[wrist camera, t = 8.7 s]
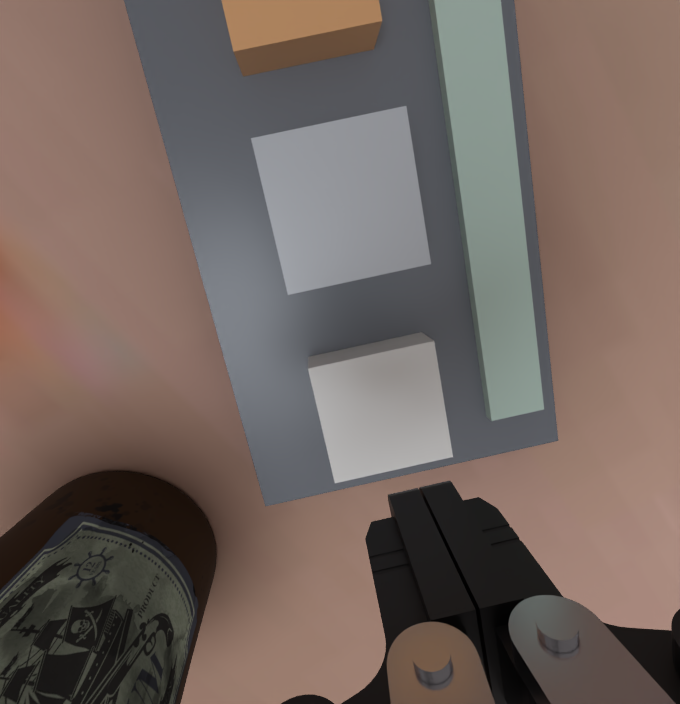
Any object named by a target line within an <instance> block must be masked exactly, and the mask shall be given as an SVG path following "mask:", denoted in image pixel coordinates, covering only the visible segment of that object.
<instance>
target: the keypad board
mask: <svg viewBox="0 0 680 704" xmlns="http://www.w3.org/2000/svg"><path fill="white" fill-rule="evenodd" d="M124 2H125V6H126V9H127V13H128V16H129V20H130V24H131V27H132V31H133V34H134V38H135V41H136V45H137V49H138V52H139V56H140V59H141V63H142V66H143V70H144V74H145V77H146V81H147V84H148V88H149V92H150V95H151V99H152V102H153V106H154V109H155V113H156V117H157V120H158V124H159V127H160V131H161V134H162V138H163V142H164V145H165V149H166V152H167V156H168V159H169V163H170V167H171V170H172V174H173V177H174V181H175V184H176V188H177V192H178V195H179V199H180V202H181V206H182V209H183V213H184V217H185V220H186V224H187V227H188V231H189V235H190V238H191V242H192V245H193V249H194V252H195V256H196V260H197V263H198V267H199V270H200V274H201V277H202V281H203V285H204V288H205V292H206V295H207V299H208V302H209V306H210V310H211V313H212V317H213V320H214V324H215V327H216V331H217V335H218V338H219V342H220V345H221V349H222V352H223V356H224V360H225V363H226V367H227V370H228V374H229V378H230V381H231V385H232V388H233V392H234V395H235V399H236V403H237V406H238V410H239V413H240V417H241V420H242V424H243V428H244V431H245V435H246V438H247V442H248V445H249V449H250V453H251V456H252V460H253V463H254V467H255V470H256V474H257V478H258V481H259V485H260V488H261V492H262V495H263V499H264V503H265V506H269V505H274V504H278V503H282V502H287V501H291V500H296V499H300V498H305V497H309V496H314V495H318V494H323V493H327V492H331V491H336V490H340V489H345V488H349V487H354V486H358V485H363V484H367V483H372V482H376V481H381V480H385V479H389V478H394V477H398V476H403V475H407V474H412V473H416V472H421V471H425V470H430V469H434V468H439V467H443V466H447V465H452V464H456V463H461V462H465V461H470V460H474V459H479V458H483V457H488V456H492V455H496V454H501V453H505V452H510V451H514V450H519V449H523V448H528V447H532V446H537V445H541V444H546V443H550V442H554V441H558V434H557V424H556V414H555V404H554V394H553V384H552V374H551V364H550V354H549V344H548V334H547V324H546V314H545V304H544V294H543V284H542V274H541V264H540V254H539V244H538V234H537V224H536V214H535V204H534V194H533V184H532V174H531V164H530V154H529V144H528V134H527V124H526V114H525V104H524V94H523V84H522V74H521V64H520V54H519V44H518V34H517V24H516V14H515V4H514V0H379V4H380V10H381V16H382V24H381V27H380V30H379V34H378V37H377V40H376V44H375V47H374V50H369V51H364V52H359V53H354V54H350V55H345V56H340V57H335V58H330V59H325V60H321V61H316V62H311V63H306V64H301V65H296V66H292V67H287V68H282V69H277V70H272V71H268V72H263V73H258V74H253V75H248V76H243V75H242V73H241V70H240V67H239V65H238V62H237V60H236V57H235V54H234V52H233V48H232V43H231V39H230V35H229V31H228V26H227V22H226V18H225V14H224V9H223V5H222V1H221V0H124ZM403 106H406V107H407V114H408V120H409V126H410V133H411V139H412V145H413V152H414V158H415V164H416V171H417V177H418V184H419V190H420V196H421V203H422V209H423V215H424V222H425V228H426V234H427V241H428V247H429V254H430V260H431V264H429V265H424V266H420V267H415V268H410V269H406V270H401V271H397V272H392V273H387V274H383V275H378V276H373V277H369V278H364V279H360V280H355V281H350V282H346V283H341V284H336V285H332V286H327V287H323V288H318V289H313V290H309V291H304V292H299V293H295V294H290V295H288V293H287V289H286V285H285V280H284V276H283V272H282V268H281V264H280V259H279V255H278V251H277V247H276V242H275V238H274V234H273V230H272V225H271V221H270V217H269V213H268V208H267V204H266V200H265V196H264V192H263V187H262V183H261V179H260V175H259V170H258V166H257V162H256V158H255V153H254V149H253V145H252V141H251V138H255V137H260V136H264V135H269V134H274V133H279V132H283V131H288V130H293V129H298V128H303V127H307V126H312V125H317V124H322V123H326V122H331V121H336V120H341V119H345V118H350V117H355V116H360V115H364V114H369V113H374V112H379V111H383V110H388V109H393V108H398V107H403ZM420 332H422V333H423V334H425V335H426V336H428V337H429V338H431V339H432V340H434V342H435V349H436V355H437V361H438V367H439V373H440V379H441V386H442V392H443V398H444V404H445V410H446V416H447V423H448V429H449V435H450V441H451V447H452V453H453V457H451V458H446V459H442V460H437V461H433V462H428V463H424V464H419V465H415V466H411V467H406V468H402V469H397V470H393V471H388V472H384V473H379V474H375V475H370V476H366V477H361V478H357V479H352V480H348V481H344V482H339V483H335V482H334V478H333V474H332V469H331V465H330V461H329V456H328V452H327V448H326V444H325V439H324V435H323V431H322V427H321V422H320V418H319V414H318V410H317V405H316V401H315V397H314V393H313V388H312V384H311V380H310V376H309V371H308V357H310V356H315V355H319V354H324V353H328V352H333V351H337V350H342V349H347V348H351V347H356V346H360V345H365V344H369V343H374V342H379V341H383V340H388V339H392V338H397V337H401V336H406V335H411V334H415V333H420Z"/></svg>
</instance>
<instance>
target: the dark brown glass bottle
mask: <svg viewBox="0 0 680 704" xmlns="http://www.w3.org/2000/svg"><path fill="white" fill-rule="evenodd" d="M215 567H216V545H215V540H214V536H213V533H212V530H211V528H210V526H209V524H208V522H207V520H206V518H205V517H204V515H203V513H202V512H201V511H200V509H199V508H198V507H197V506H196V505H195V504H194V503H193V502H192V501H191V500H190V499H189V498H188V497H187V496H186V495H185V494H183V493H182V492H181V491H179V490H178V489H176V488H175V487H173V486H171V485H169V484H167V483H165V482H163V481H161V480H159V479H156V478H153V477H150V476H147V475H143V474H138V473H132V472H121V471H113V472H102V473H96V474H91V475H88V476H84V477H81V478H79V479H76V480H74V481H72V482H70V483H68V484H66V485H64V486H63V487H61V488H60V489H58V490H57V491H55V492H54V493H53V494H51V495H50V496H49V497H48V498H46V499H45V500H44V501H43V502H42V503H40V504H39V505H38V506H37V507H36V508H35V509H33V510H32V511H31V512H30V513H29V514H27V515H26V516H25V517H24V518H23V519H22V520H20V521H19V522H18V523H17V524H16V525H15V526H13V527H12V528H11V529H10V530H9V531H7V532H6V533H5V534H4V535H3V536H2V537H0V704H180V703H181V699H182V695H183V691H184V687H185V683H186V679H187V675H188V671H189V667H190V663H191V659H192V655H193V652H194V648H195V644H196V641H197V637H198V633H199V629H200V626H201V622H202V618H203V615H204V611H205V607H206V604H207V600H208V596H209V592H210V589H211V585H212V581H213V577H214V572H215Z"/></svg>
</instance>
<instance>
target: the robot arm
mask: <svg viewBox="0 0 680 704" xmlns="http://www.w3.org/2000/svg"><path fill="white" fill-rule="evenodd" d="M388 501H389V506H390V511H391V516H392V517H391V518H386V519H382V520H378V521H373V522H371V524H370V527H369V530H368V533H367V536H366V544H367V549H368V554H369V559H370V564H371V569H372V574H373V579H374V584H375V588H376V593H377V598H378V603H379V608H380V613H381V618H382V623H383V628H384V633H385V638H386V652H385V657H384V661H383V663H382V666H381V668H380V670H379V672H378V673H377V675H376V676H375V677H374V679H373V680H372V681H371V682H370V683H369V684H368V685H367V686H366V687H365V688H364V689H363V690H361V691H360V692H359V693H357V694H356V695H354V696H353V697H351V698H349V699H348V700H346V701H345V702H343V703H342V704H680V609H679V610H678V611H677V612H676V613H675V615H674V617H673V619H672V631H669V630H653V629H638V628H626V627H618V626H614V625H609V624H606V623H603V622H602V621H601V620H600V619H599V618H598V617H597V616H596V615H595V614H594V613H593V612H591V611H590V610H589V609H587V608H586V607H584V606H583V605H581V604H579V603H577V602H575V601H573V600H570V599H567V598H564V597H563V596H562V595H561V594H560V592H559V591H558V589H557V588H556V587H555V585H554V584H553V583H552V581H551V580H550V579H549V577H548V576H547V575H546V573H545V572H544V571H543V569H542V568H541V567H540V565H539V564H538V563H537V561H536V560H535V559H534V557H533V556H532V555H531V553H530V552H529V550H528V549H527V548H526V546H525V545H524V544H523V542H522V541H520V540H519V537H518V536H517V534H516V533H515V532H514V530H513V529H512V528H511V527H510V526H509V524H508V522H507V521H506V520H505V518H504V517H503V516H502V514H501V513H500V511H499V510H498V509H497V508H496V507H494V506H492V505H491V504H489V503H487V502H486V501H484V500H482V499H481V498H479V497H477V498H473V499H469V500H464V501H463V500H462V498H461V497H460V495H459V493H458V492H457V490H456V489H455V487H454V485H453V484H452V482H451V481H446V482H441V483H437V484H433V485H428V486H424V487H420V488H419V489H418V488H416V489H411V490H407V491H402V492H398V493H394V494H389V495H388ZM281 704H334V703H333V702H331V701H330V700H328V699H326V698H324V697H321V696H317V695H301V696H296V697H294V698H291V699H289V700H287V701H285V702H283V703H281Z"/></svg>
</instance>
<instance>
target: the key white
mask: <svg viewBox="0 0 680 704" xmlns="http://www.w3.org/2000/svg"><path fill="white" fill-rule="evenodd" d="M308 371H309V376H310V380H311V384H312V388H313V393H314V397H315V401H316V405H317V410H318V414H319V418H320V422H321V427H322V431H323V435H324V439H325V444H326V448H327V452H328V456H329V461H330V465H331V469H332V474H333V478H334V482H335V483H339V482H344V481H348V480H352V479H357V478H361V477H366V476H370V475H375V474H379V473H384V472H388V471H393V470H397V469H402V468H406V467H411V466H415V465H419V464H424V463H428V462H433V461H437V460H442V459H446V458H451V457H453V453H452V447H451V441H450V435H449V429H448V423H447V416H446V410H445V404H444V398H443V392H442V386H441V379H440V373H439V367H438V361H437V355H436V349H435V342H434V340H432V339H431V338H429V337H428V336H426V335H425V334H423V333H422V332H420V333H415V334H411V335H406V336H401V337H397V338H392V339H388V340H383V341H379V342H374V343H369V344H365V345H360V346H356V347H351V348H347V349H342V350H337V351H333V352H328V353H324V354H319V355H315V356H310V357H308Z"/></svg>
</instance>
